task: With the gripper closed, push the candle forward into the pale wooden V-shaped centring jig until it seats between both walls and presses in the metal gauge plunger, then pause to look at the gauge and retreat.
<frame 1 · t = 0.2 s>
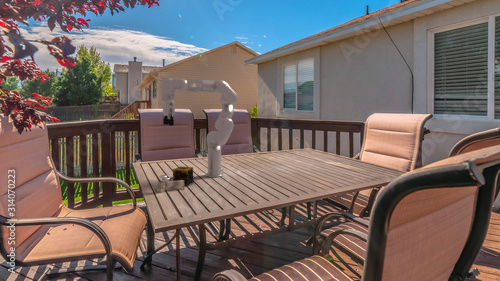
hand: (168, 125, 184), 36 cm above the table, tool pointing down, fingers open, 9 cm apart
centring jig: (166, 189, 168), on the table
gauge plunger: (167, 177, 168), point 7 cm above the table, slide at 0.0 cm
candle: (183, 184, 182), on the table
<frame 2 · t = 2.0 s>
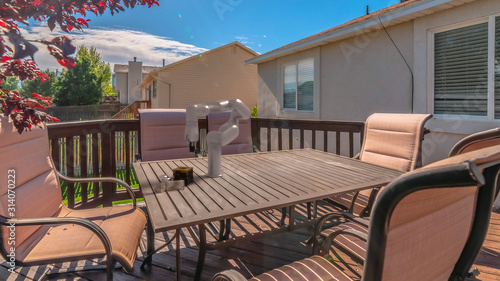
hand: (192, 151, 189), 19 cm above the table, tool pointing down, fingers closed
nothing on the table moved.
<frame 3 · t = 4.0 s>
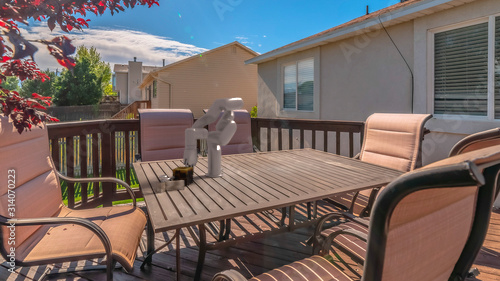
hand: (190, 175, 189), 4 cm above the table, tool pointing down, fingers closed
candle: (183, 184, 182), on the table, touching gripper
everything else where it was.
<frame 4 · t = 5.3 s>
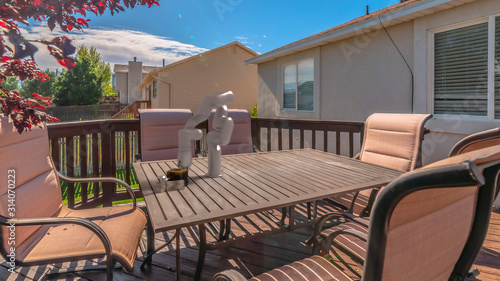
hand: (185, 177, 184), 3 cm above the table, tool pointing down, fingers closed
gauge plunger: (165, 178, 166), point 7 cm above the table, slide at 1.7 cm
candle: (177, 186, 177), on the table, touching centring jig, gripper
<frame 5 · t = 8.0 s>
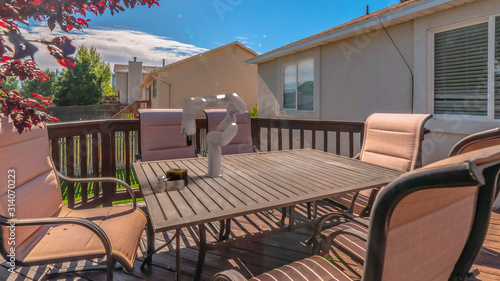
hand: (189, 145, 185), 23 cm above the table, tool pointing down, fingers closed
gauge plunger: (164, 178, 166), point 7 cm above the table, slide at 2.2 cm
candle: (177, 186, 177), on the table
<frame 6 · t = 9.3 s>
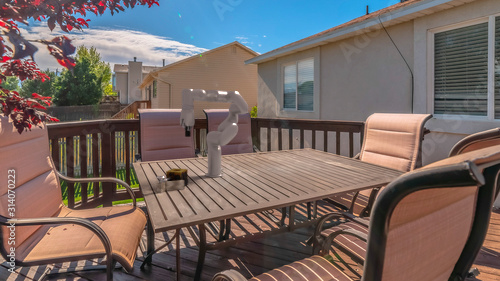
hand: (187, 136, 187), 29 cm above the table, tool pointing down, fingers closed
nothing on the table moved.
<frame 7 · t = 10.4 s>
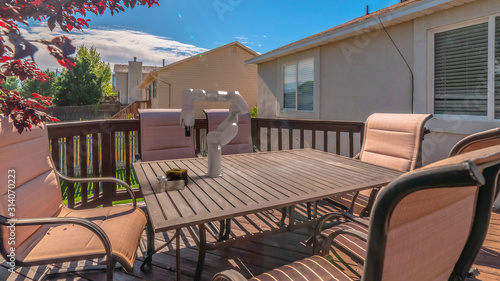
hand: (187, 136, 187), 29 cm above the table, tool pointing down, fingers closed
nothing on the table moved.
at the end: candle 0.1 cm from the target spot on the table beside the centring jig, on the table; gauge plunger slide at 2.2 cm; candle tilted 0° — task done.
